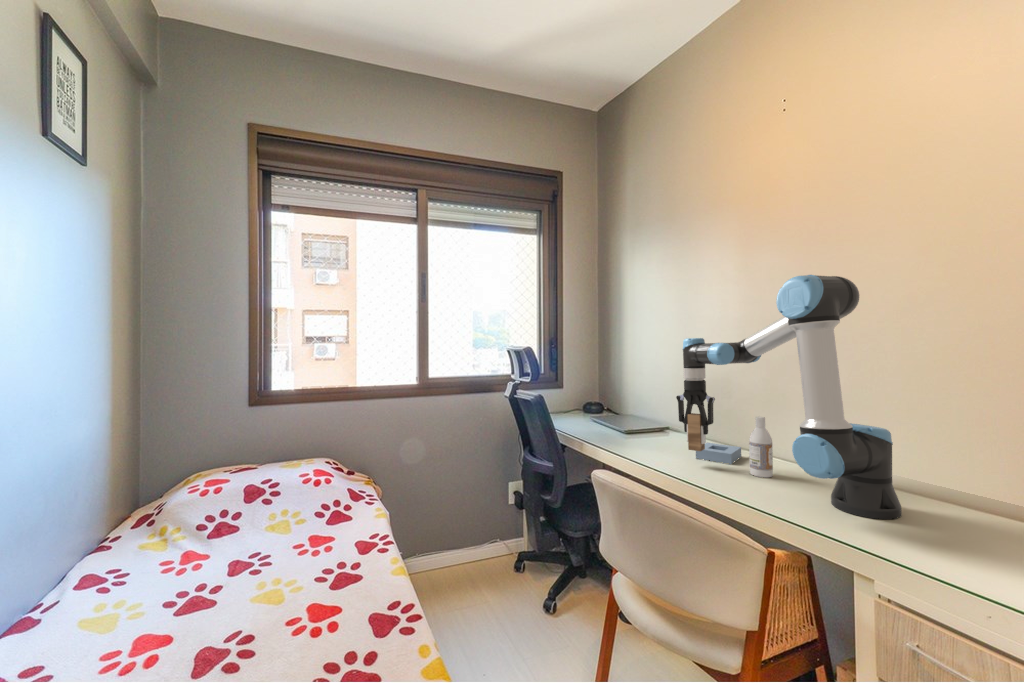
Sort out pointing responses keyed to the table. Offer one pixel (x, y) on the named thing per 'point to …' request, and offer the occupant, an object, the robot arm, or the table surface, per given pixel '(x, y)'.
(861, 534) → the table surface
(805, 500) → the table surface
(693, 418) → the peg
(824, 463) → the robot arm
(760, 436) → the bath foam
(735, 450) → the socket block
